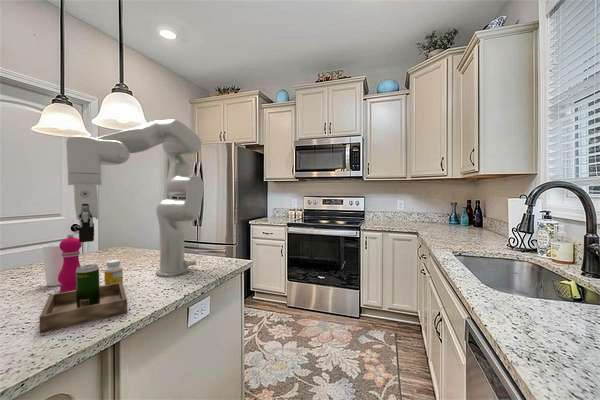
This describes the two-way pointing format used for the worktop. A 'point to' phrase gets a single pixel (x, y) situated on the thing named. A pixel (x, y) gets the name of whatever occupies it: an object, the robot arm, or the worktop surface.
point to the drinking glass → (52, 263)
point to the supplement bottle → (113, 272)
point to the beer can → (87, 285)
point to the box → (82, 308)
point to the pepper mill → (69, 263)
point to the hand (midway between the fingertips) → (87, 239)
